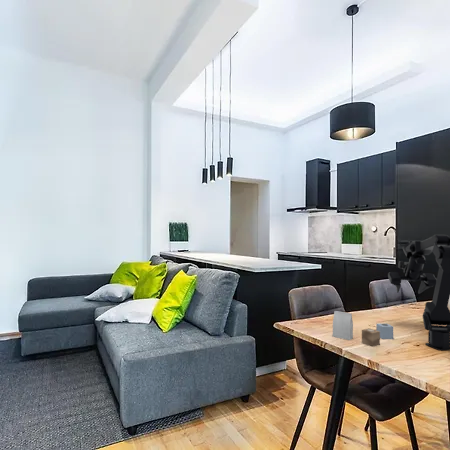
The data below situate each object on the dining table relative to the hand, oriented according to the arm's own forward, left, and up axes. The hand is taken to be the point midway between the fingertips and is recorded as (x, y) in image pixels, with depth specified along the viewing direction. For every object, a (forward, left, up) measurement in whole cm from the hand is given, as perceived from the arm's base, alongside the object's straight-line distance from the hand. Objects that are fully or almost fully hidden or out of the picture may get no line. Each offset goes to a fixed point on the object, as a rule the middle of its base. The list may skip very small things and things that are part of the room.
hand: (408, 292), depth 151 cm
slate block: (-14, +24, -15) cm, 32 cm away
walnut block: (-20, +35, -15) cm, 43 cm away
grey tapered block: (-11, +41, -15) cm, 45 cm away
